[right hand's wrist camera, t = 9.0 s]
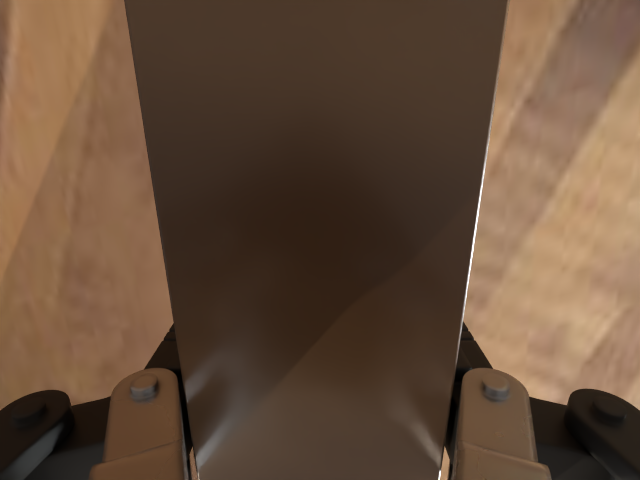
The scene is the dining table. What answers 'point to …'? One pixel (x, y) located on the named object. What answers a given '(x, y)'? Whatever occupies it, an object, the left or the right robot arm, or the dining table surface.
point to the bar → (317, 221)
